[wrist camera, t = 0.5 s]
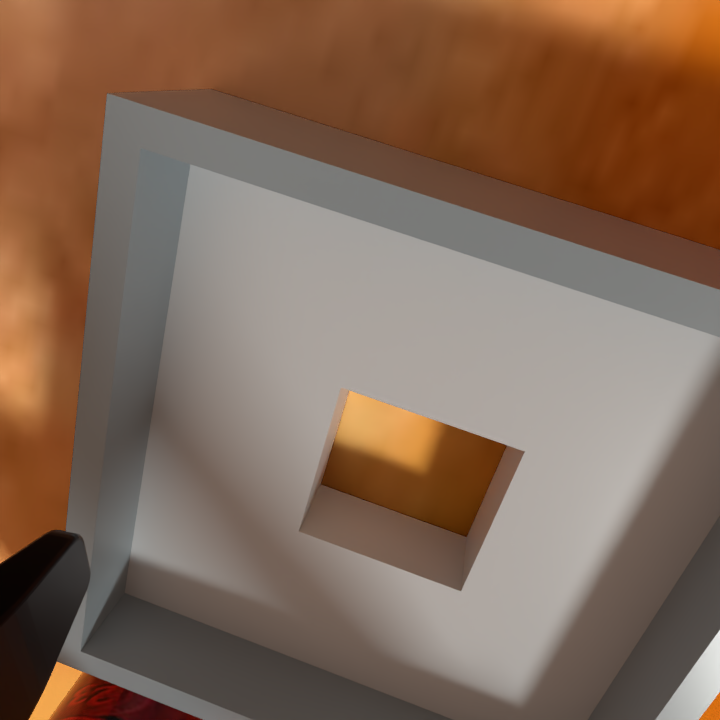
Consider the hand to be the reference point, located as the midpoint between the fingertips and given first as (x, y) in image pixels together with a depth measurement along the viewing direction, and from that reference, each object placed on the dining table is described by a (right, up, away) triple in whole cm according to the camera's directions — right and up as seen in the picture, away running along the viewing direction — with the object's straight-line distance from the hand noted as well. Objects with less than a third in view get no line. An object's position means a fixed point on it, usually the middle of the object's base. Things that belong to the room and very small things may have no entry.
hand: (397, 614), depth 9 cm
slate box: (+2, 0, +16) cm, 16 cm away
